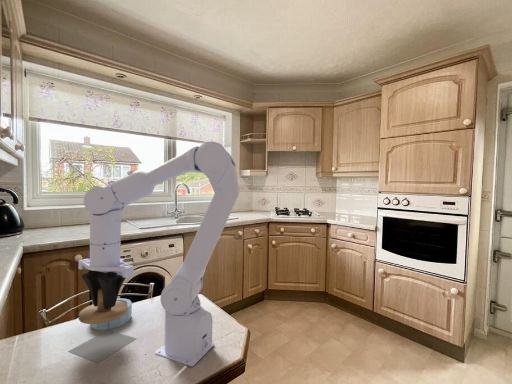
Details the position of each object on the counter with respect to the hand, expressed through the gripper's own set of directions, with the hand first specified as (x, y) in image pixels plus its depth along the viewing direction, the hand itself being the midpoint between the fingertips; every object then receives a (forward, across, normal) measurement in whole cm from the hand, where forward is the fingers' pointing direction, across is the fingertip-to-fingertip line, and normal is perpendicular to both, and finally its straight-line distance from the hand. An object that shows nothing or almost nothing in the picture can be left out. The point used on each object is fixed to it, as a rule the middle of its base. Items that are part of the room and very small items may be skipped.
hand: (104, 305), depth 55 cm
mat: (+9, 0, 0) cm, 9 cm away
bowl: (+9, +8, -8) cm, 14 cm away
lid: (+2, 0, 0) cm, 2 cm away
